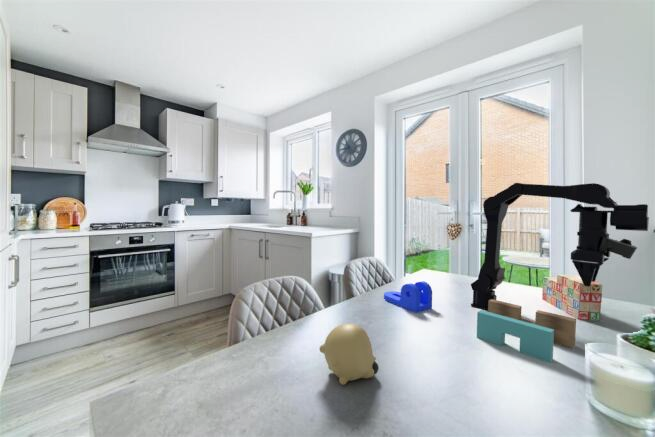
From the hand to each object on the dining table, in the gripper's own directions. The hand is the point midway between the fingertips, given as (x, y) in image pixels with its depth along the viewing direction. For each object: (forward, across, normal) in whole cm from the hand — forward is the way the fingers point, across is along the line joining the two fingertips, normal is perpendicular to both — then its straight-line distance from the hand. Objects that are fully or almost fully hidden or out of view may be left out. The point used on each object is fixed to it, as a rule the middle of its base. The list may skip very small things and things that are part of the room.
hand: (589, 283), depth 79 cm
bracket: (+15, -19, +48) cm, 54 cm away
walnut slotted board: (+14, -13, +11) cm, 23 cm away
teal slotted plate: (+14, -26, +11) cm, 32 cm away
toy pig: (+15, -67, +28) cm, 74 cm away
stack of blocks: (+15, +23, +8) cm, 28 cm away
